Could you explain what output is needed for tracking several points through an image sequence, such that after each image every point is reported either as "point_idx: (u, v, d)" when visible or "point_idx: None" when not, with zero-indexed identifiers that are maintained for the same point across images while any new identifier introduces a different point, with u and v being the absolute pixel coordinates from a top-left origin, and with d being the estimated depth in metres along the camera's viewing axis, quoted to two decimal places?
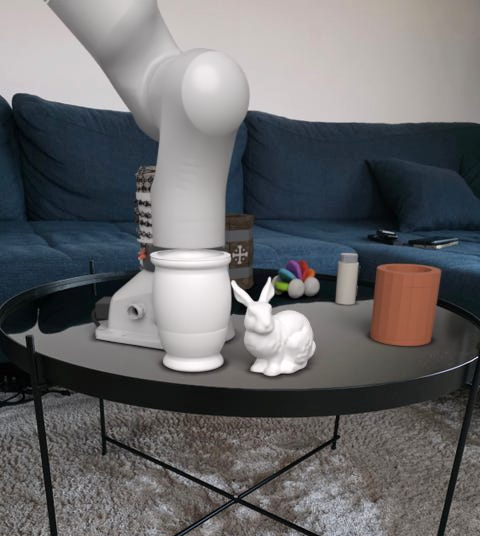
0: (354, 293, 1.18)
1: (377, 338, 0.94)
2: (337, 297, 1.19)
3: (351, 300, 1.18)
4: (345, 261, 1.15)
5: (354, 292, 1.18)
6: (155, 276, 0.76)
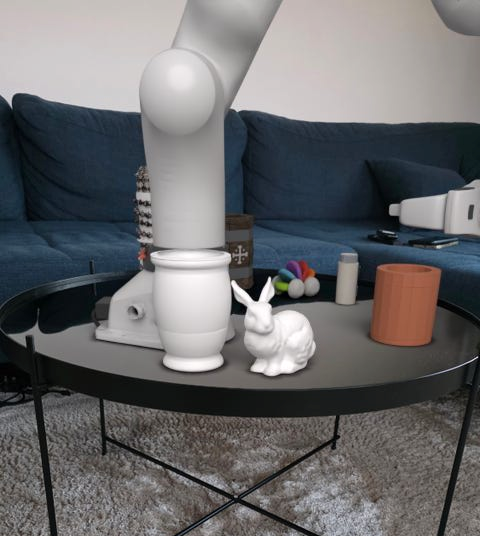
0: (354, 293, 1.18)
1: (377, 338, 0.94)
2: (337, 297, 1.19)
3: (351, 300, 1.18)
4: (345, 261, 1.15)
5: (354, 292, 1.18)
6: (155, 276, 0.76)
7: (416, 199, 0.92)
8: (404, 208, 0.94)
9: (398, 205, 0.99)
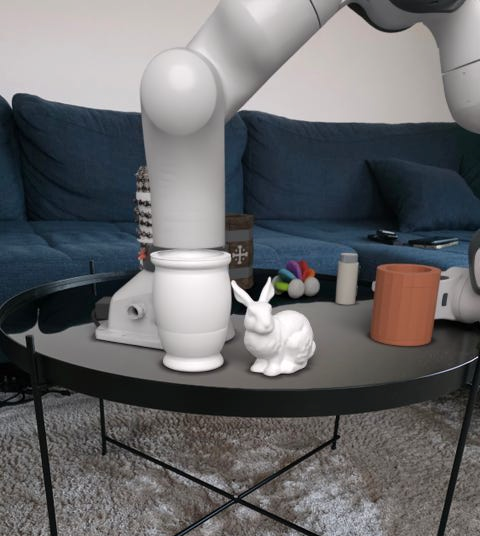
0: (354, 293, 1.18)
1: (377, 338, 0.94)
2: (337, 297, 1.19)
3: (351, 300, 1.18)
4: (345, 261, 1.15)
5: (354, 292, 1.18)
6: (155, 276, 0.76)
7: None
8: None
9: None
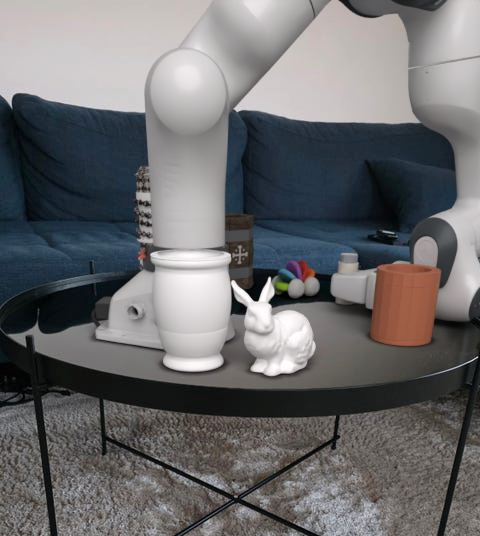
0: None
1: (377, 338, 0.94)
2: None
3: None
4: (345, 261, 1.15)
5: None
6: (155, 276, 0.76)
7: (343, 276, 1.06)
8: (333, 283, 1.08)
9: (339, 275, 1.14)
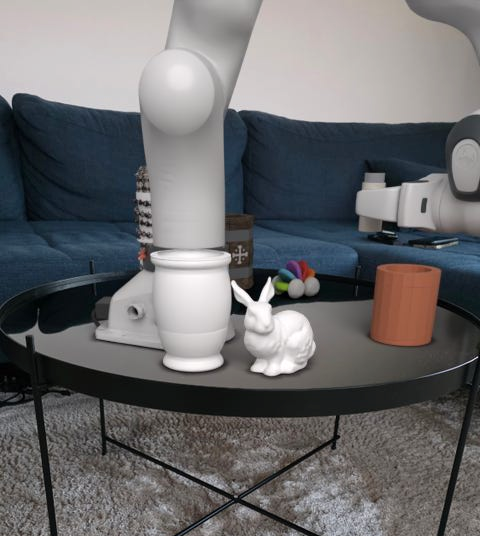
0: None
1: (377, 338, 0.94)
2: (361, 224, 1.04)
3: (377, 227, 1.03)
4: (371, 180, 1.01)
5: None
6: (155, 276, 0.76)
7: (371, 190, 0.92)
8: (359, 199, 0.94)
9: None
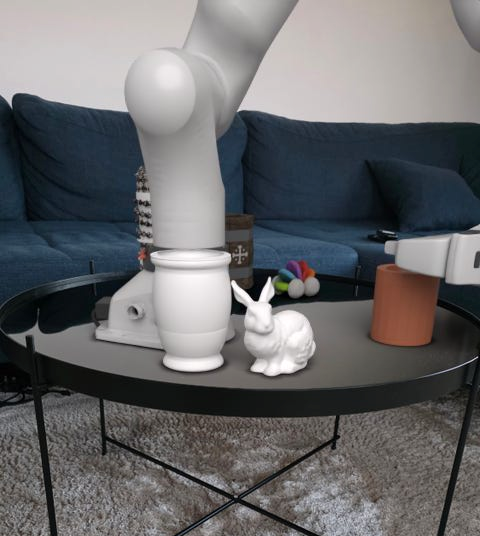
0: None
1: (377, 338, 0.94)
2: None
3: None
4: None
5: None
6: (155, 276, 0.76)
7: (415, 240, 0.79)
8: (400, 250, 0.80)
9: (395, 243, 0.86)
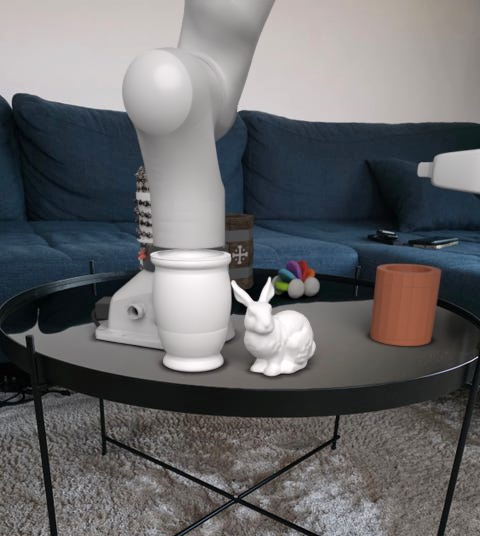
0: None
1: (377, 338, 0.94)
2: None
3: None
4: None
5: None
6: (155, 276, 0.76)
7: (455, 153, 0.72)
8: (438, 165, 0.73)
9: (430, 163, 0.79)
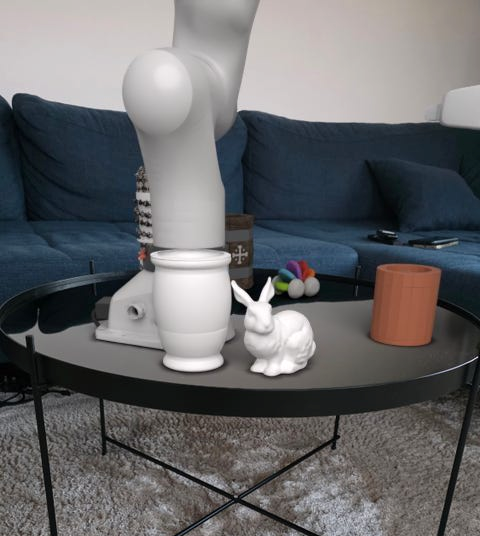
0: None
1: (377, 338, 0.94)
2: None
3: None
4: None
5: None
6: (155, 276, 0.76)
7: (465, 88, 0.69)
8: (447, 102, 0.70)
9: (437, 105, 0.76)
